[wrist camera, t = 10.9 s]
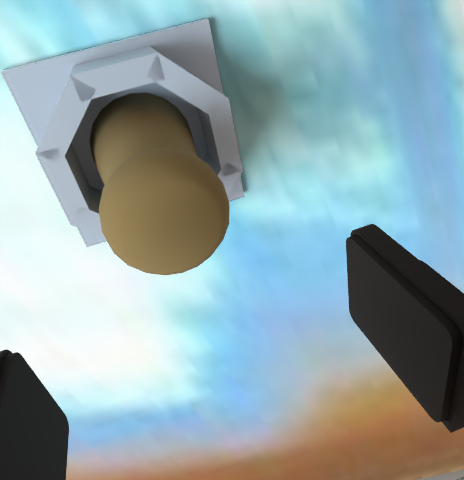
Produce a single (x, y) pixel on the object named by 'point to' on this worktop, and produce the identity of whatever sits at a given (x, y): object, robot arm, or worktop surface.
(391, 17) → the worktop surface
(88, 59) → the grey octagonal holder
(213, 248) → the cork
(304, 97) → the worktop surface
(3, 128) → the worktop surface
